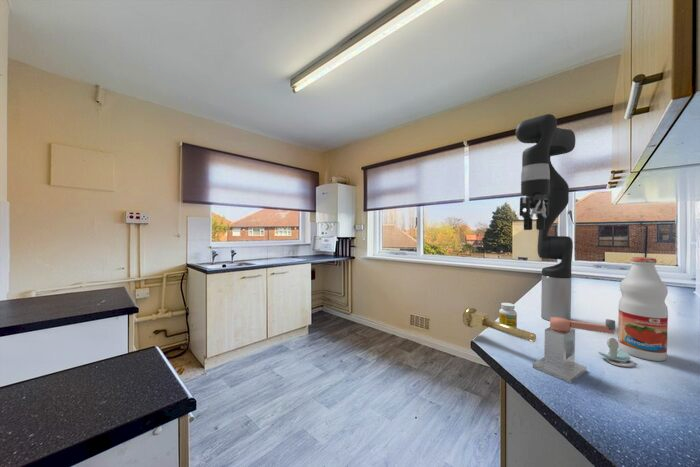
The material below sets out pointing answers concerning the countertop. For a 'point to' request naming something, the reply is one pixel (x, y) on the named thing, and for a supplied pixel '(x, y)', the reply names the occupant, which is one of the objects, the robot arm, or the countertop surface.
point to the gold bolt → (493, 324)
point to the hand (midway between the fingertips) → (534, 229)
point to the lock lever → (581, 325)
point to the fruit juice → (643, 312)
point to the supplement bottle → (508, 315)
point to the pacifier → (613, 352)
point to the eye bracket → (560, 356)
